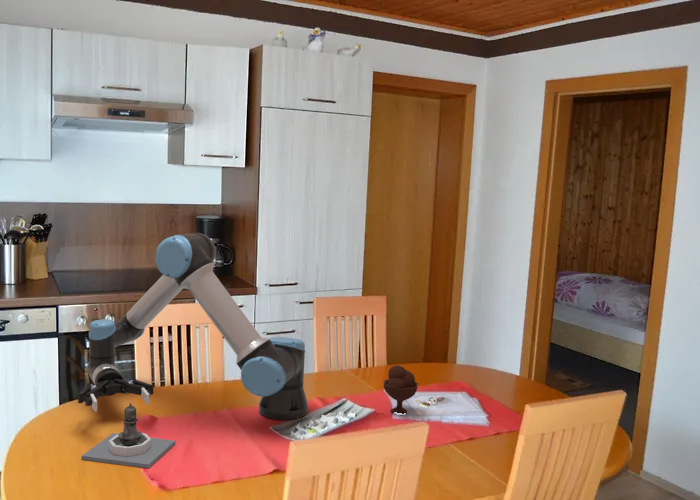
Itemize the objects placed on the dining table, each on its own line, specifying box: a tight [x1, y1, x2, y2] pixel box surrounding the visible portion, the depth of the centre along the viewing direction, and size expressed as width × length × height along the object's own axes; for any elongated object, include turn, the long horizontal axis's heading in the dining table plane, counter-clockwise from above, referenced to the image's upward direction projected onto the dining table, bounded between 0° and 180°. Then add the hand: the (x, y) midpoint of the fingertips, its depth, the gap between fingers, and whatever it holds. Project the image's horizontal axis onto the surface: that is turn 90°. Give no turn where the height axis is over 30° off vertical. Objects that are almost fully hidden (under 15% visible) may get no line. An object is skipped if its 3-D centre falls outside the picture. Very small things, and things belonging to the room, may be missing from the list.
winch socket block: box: [81, 432, 176, 469], centre depth 170 cm, size 18×15×3 cm
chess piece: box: [117, 402, 143, 447], centre depth 170 cm, size 6×6×12 cm
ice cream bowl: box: [383, 364, 419, 415], centre depth 207 cm, size 11×11×15 cm
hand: (122, 402), depth 178 cm, fingers open, 13 cm apart
